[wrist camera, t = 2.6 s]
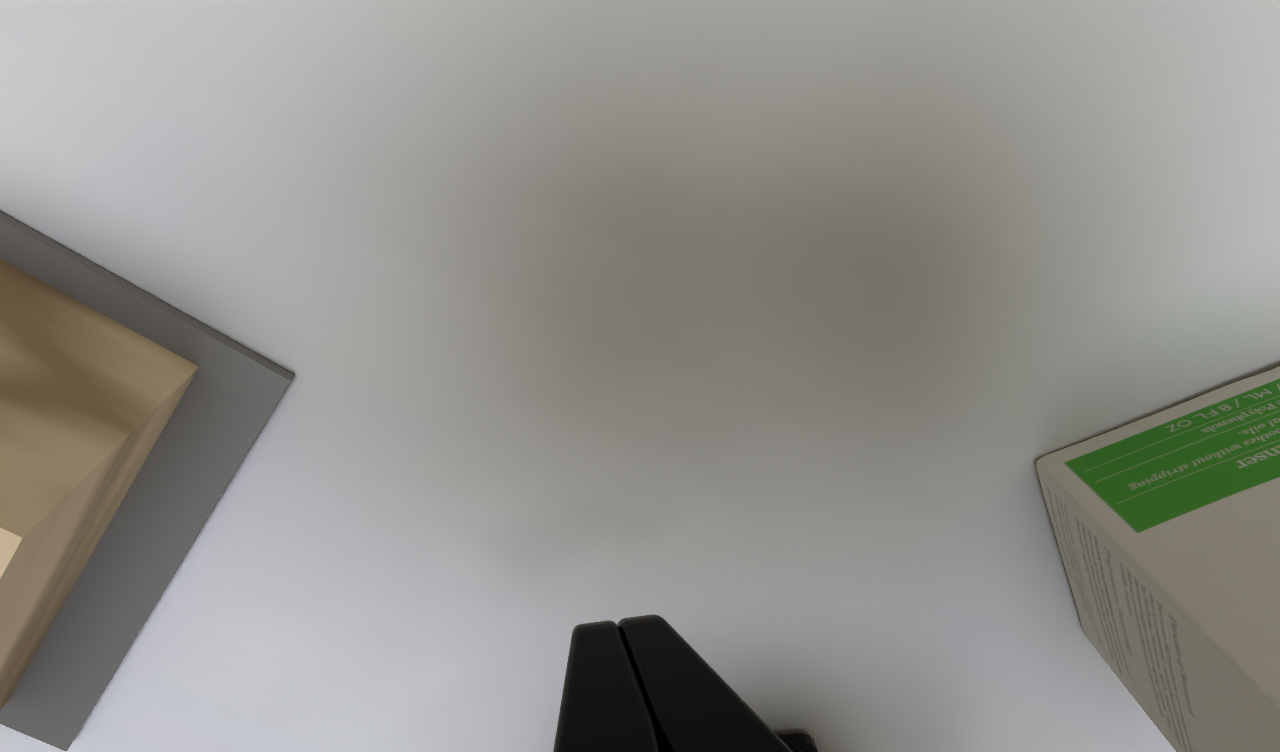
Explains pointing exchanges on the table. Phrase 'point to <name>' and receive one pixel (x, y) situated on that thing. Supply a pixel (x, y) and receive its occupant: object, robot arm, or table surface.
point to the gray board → (137, 488)
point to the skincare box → (1182, 561)
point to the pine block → (66, 446)
